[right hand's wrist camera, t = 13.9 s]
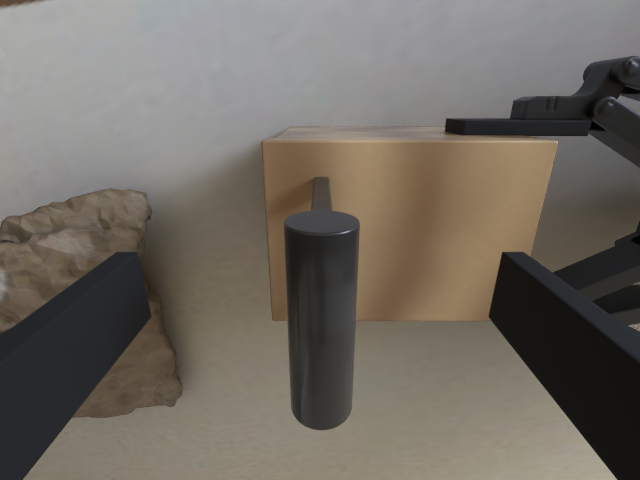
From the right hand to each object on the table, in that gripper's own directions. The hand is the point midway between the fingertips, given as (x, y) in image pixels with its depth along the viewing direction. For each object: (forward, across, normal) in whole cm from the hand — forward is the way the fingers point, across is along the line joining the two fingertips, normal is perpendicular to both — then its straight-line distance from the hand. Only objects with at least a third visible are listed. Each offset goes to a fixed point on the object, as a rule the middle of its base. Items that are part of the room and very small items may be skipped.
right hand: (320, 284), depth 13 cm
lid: (+6, -4, 0) cm, 7 cm away
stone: (+15, +19, +10) cm, 26 cm away
